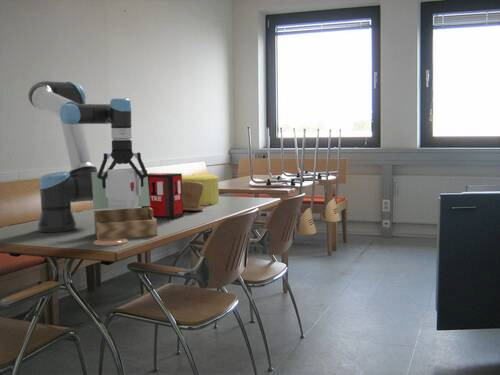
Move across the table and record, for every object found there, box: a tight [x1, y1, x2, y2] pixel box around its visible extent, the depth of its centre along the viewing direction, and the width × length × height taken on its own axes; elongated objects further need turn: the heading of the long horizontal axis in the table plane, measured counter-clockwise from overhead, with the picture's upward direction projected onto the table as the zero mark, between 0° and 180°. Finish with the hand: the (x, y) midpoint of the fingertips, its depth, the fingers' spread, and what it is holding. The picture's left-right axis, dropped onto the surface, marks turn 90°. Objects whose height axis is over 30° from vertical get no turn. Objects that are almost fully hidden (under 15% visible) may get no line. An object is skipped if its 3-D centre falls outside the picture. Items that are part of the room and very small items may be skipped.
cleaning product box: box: [140, 172, 184, 220], centre depth 267 cm, size 16×9×20 cm, turn 69°
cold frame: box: [93, 207, 158, 240], centre depth 226 cm, size 22×15×9 cm
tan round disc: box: [93, 238, 129, 247], centre depth 210 cm, size 12×12×1 cm
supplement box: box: [106, 167, 138, 210], centre depth 225 cm, size 9×9×15 cm
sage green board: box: [91, 169, 150, 210], centre depth 234 cm, size 22×15×1 cm
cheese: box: [182, 173, 220, 206], centre depth 319 cm, size 26×26×15 cm
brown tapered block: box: [182, 181, 204, 212], centre depth 288 cm, size 15×12×15 cm
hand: (123, 196), depth 225 cm, fingers closed on supplement box, 12 cm apart
